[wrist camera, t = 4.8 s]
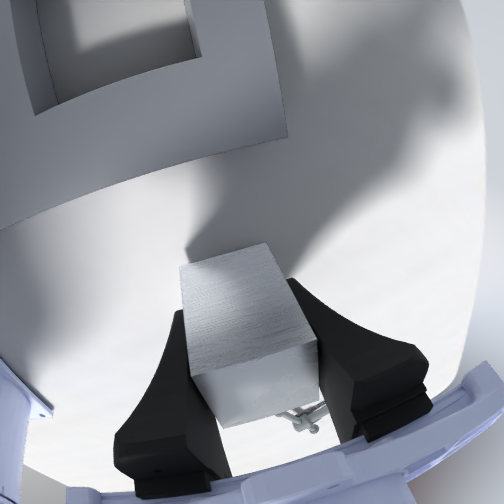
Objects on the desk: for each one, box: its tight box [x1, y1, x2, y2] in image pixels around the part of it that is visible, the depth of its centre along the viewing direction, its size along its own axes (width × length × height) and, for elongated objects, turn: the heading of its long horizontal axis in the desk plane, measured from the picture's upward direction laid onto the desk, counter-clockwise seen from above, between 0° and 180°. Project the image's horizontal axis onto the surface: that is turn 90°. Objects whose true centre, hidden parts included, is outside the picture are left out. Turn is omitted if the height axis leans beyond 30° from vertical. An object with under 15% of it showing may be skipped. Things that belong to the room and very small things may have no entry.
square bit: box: [179, 242, 319, 429], centre depth 13 cm, size 4×4×6 cm
